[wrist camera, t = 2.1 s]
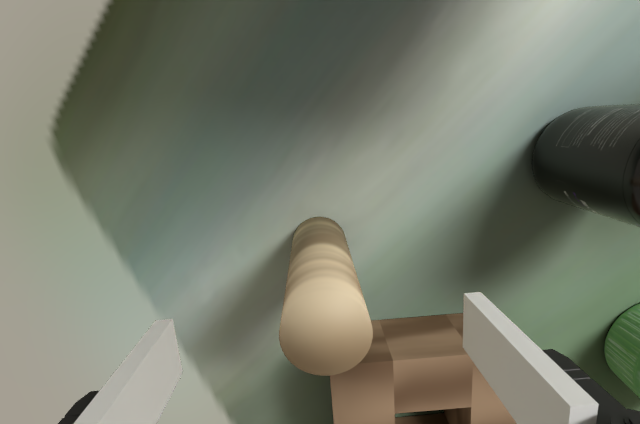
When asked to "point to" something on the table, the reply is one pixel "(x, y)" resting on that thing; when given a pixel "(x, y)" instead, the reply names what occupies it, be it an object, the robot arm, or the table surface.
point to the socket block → (416, 377)
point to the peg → (323, 303)
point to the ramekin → (625, 348)
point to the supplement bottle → (593, 160)
